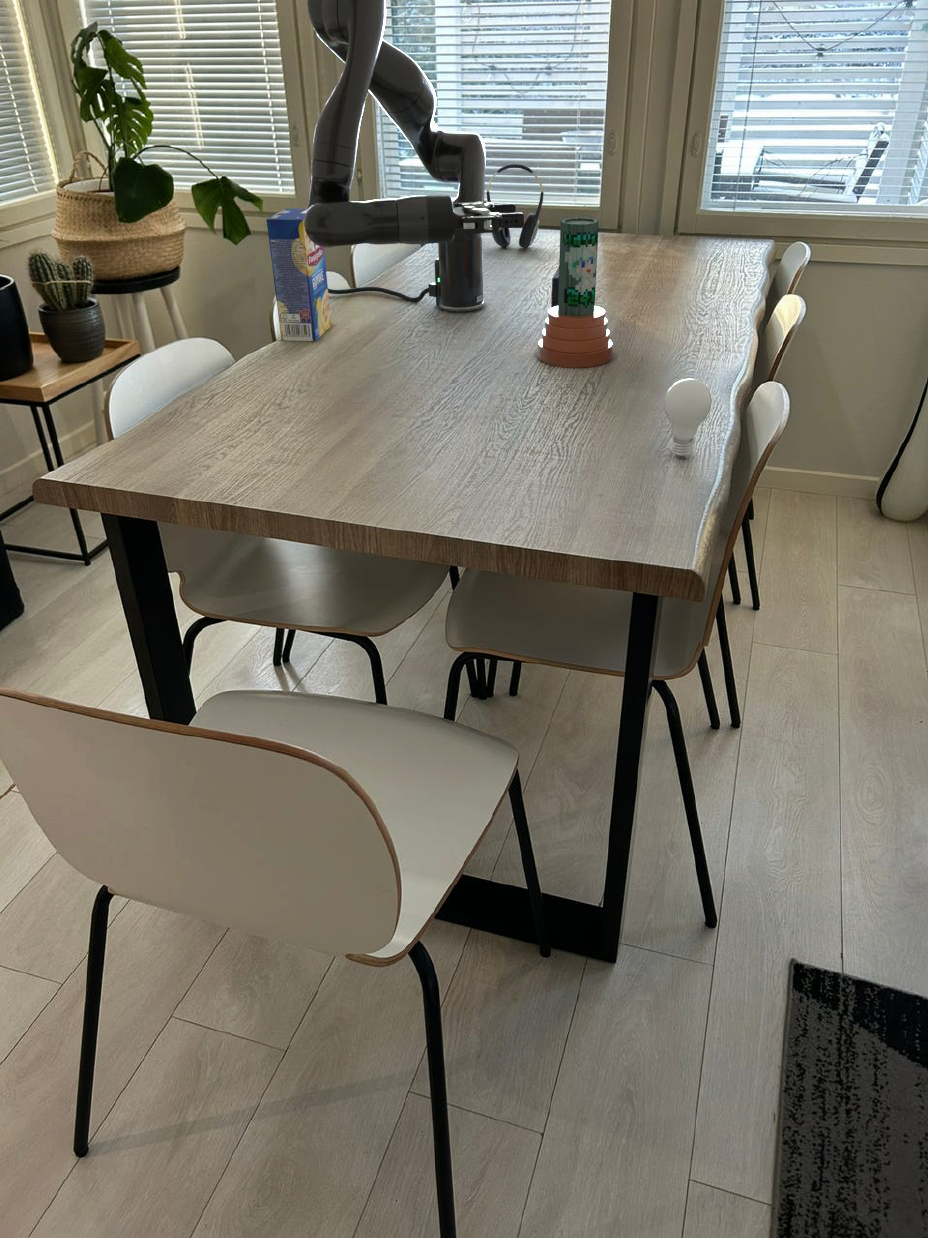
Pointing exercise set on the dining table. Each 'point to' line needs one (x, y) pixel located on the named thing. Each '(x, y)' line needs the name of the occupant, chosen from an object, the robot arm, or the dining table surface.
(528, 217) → the headphones
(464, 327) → the dining table surface
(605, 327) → the orange stepped round pedestal
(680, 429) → the lightbulb
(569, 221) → the can
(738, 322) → the dining table surface
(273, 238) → the blue cracker box
